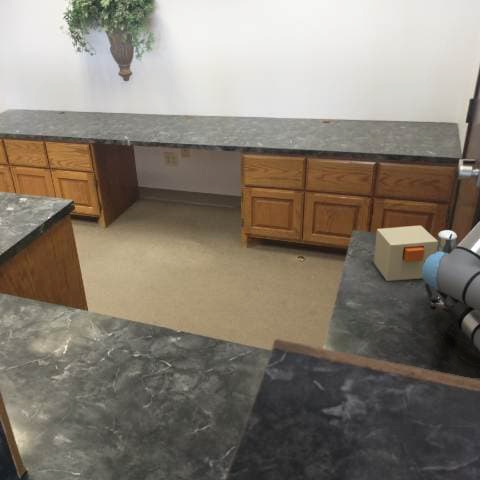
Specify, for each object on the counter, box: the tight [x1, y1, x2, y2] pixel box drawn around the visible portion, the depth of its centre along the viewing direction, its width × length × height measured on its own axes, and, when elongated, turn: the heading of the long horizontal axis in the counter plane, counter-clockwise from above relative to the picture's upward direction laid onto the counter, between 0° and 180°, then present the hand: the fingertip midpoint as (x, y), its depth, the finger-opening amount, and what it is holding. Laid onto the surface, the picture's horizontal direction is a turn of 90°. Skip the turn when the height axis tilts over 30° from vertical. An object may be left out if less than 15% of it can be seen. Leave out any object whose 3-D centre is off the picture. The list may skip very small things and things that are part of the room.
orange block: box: [403, 246, 424, 262], centre depth 134 cm, size 4×2×3 cm, turn 89°
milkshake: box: [437, 229, 458, 254], centre depth 142 cm, size 4×5×10 cm
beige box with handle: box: [373, 225, 438, 282], centre depth 140 cm, size 12×10×11 cm
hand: (426, 265), depth 127 cm, fingers closed
